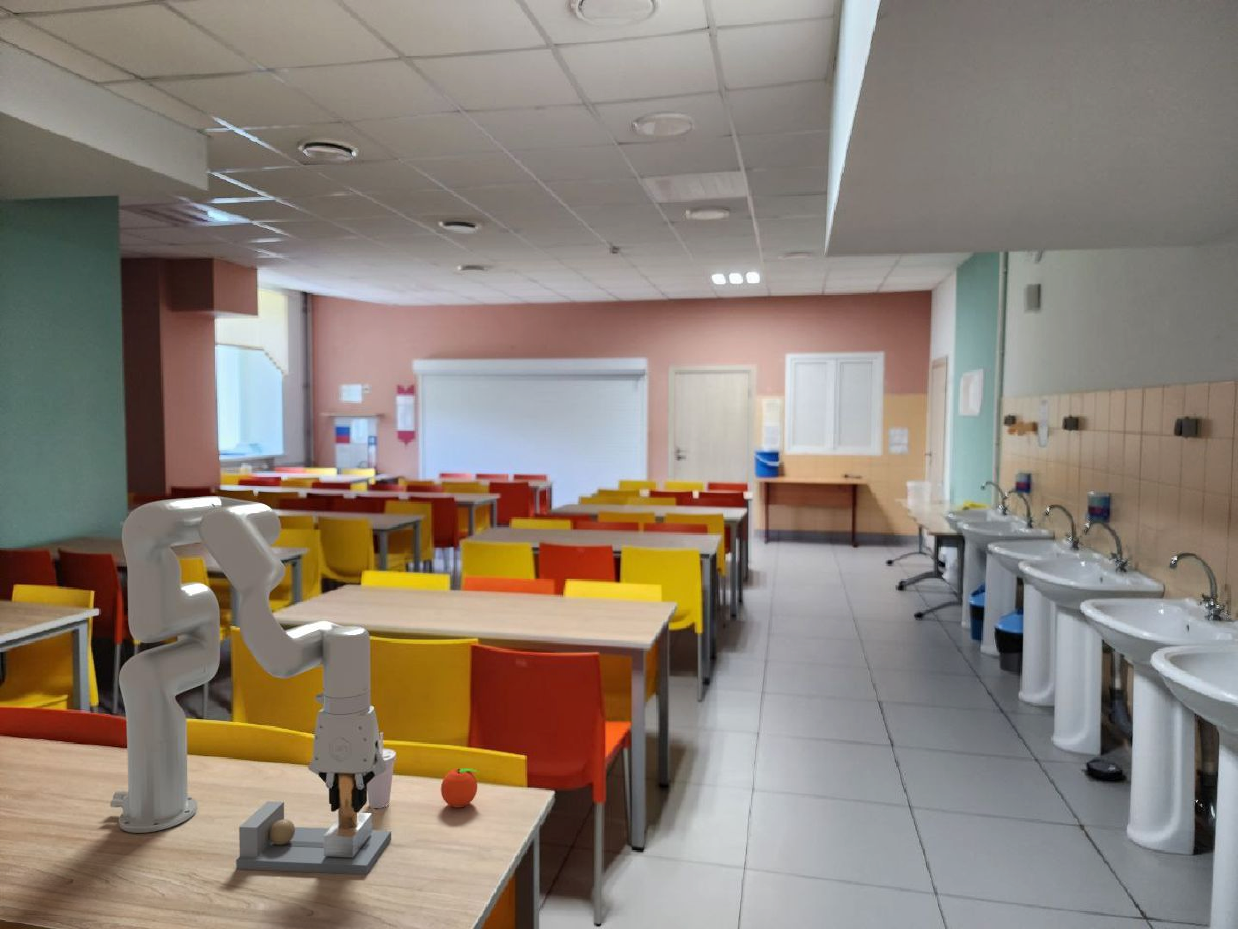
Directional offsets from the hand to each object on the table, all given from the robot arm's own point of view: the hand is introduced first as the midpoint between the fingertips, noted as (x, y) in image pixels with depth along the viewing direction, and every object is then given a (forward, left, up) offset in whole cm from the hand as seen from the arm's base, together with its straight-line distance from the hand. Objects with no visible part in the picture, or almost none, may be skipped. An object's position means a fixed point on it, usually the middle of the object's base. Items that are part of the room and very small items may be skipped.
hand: (348, 807), depth 131 cm
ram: (0, 0, -6) cm, 6 cm away
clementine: (+14, +19, -9) cm, 25 cm away
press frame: (-6, 0, -8) cm, 10 cm away
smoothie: (-2, +18, -8) cm, 20 cm away
